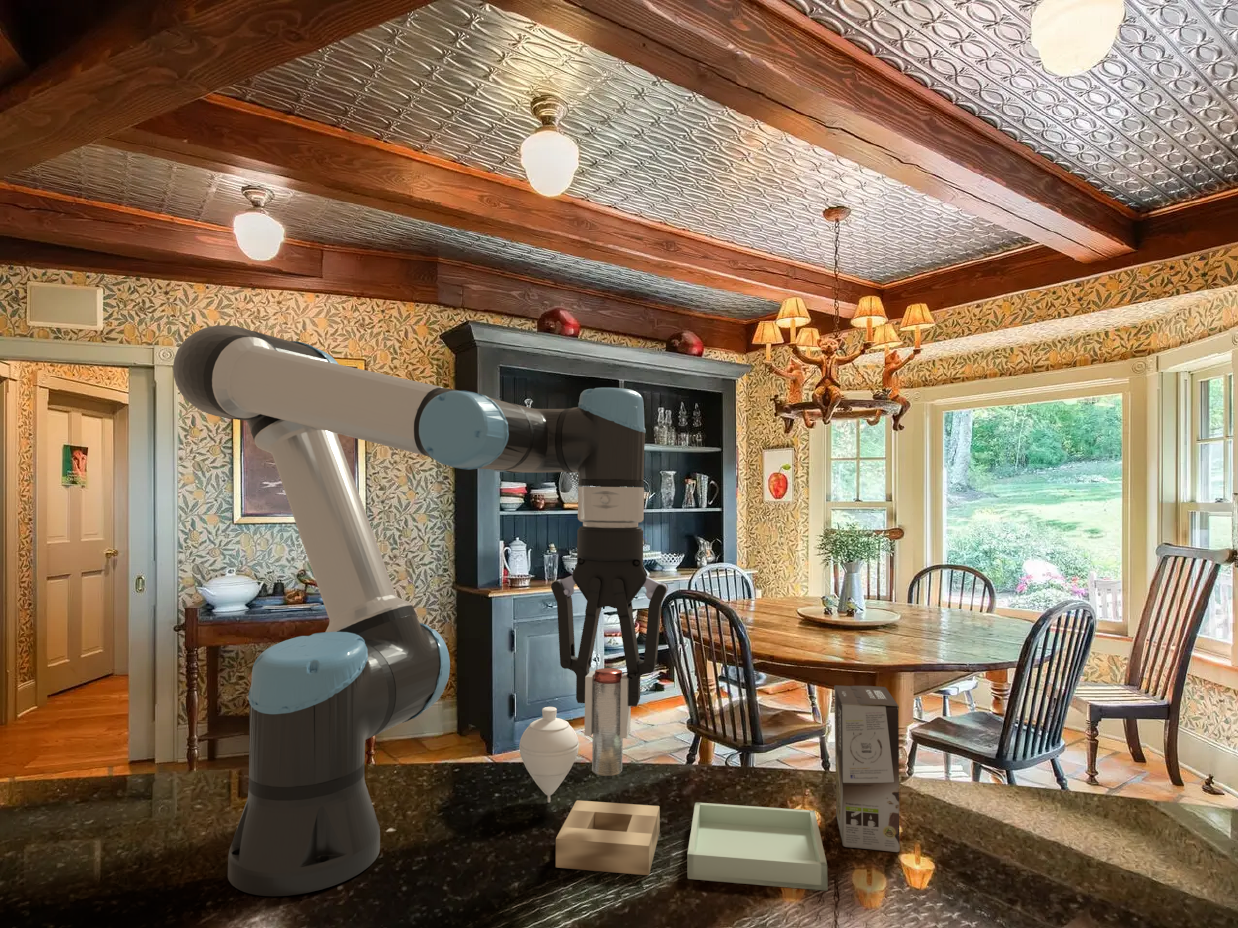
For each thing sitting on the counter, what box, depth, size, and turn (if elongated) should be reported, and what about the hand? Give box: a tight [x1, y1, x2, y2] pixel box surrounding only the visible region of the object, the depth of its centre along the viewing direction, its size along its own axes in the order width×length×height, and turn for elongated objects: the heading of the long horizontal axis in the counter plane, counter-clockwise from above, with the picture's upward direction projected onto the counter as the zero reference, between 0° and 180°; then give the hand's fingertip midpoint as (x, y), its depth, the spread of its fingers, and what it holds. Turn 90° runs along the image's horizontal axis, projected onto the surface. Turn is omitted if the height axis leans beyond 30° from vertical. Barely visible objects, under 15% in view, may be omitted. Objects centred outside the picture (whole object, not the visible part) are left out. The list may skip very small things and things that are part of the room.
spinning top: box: [518, 706, 580, 803], centre depth 95 cm, size 8×8×12 cm
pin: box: [591, 667, 624, 777], centre depth 83 cm, size 3×3×11 cm
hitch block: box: [555, 800, 661, 876], centre depth 83 cm, size 10×10×3 cm
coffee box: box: [833, 684, 901, 853], centre depth 87 cm, size 9×6×16 cm
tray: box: [686, 801, 829, 892], centre depth 81 cm, size 14×13×2 cm
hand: (607, 732), depth 83 cm, fingers closed on pin, 3 cm apart
